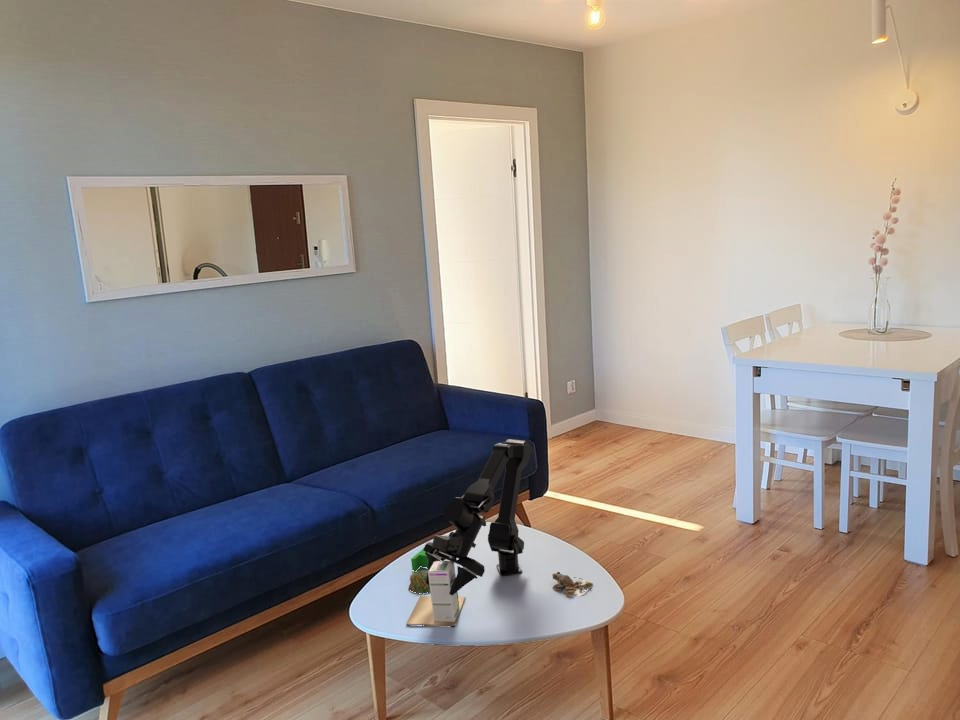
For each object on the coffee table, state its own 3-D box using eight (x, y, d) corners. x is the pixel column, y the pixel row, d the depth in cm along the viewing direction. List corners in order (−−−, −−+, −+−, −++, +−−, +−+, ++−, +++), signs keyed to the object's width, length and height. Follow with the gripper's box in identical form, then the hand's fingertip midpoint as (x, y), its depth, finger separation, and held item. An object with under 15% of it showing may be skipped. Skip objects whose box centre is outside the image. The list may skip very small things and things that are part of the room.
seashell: (422, 584, 207) (399, 574, 214) (423, 598, 208) (400, 587, 215) (448, 572, 214) (426, 563, 221) (449, 586, 214) (426, 576, 222)
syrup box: (454, 622, 192) (449, 571, 190) (433, 621, 194) (427, 570, 191) (459, 610, 198) (454, 560, 195) (438, 610, 199) (433, 560, 196)
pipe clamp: (423, 574, 221) (421, 560, 220) (412, 572, 223) (410, 558, 222) (442, 557, 231) (440, 543, 230) (431, 555, 233) (430, 542, 232)
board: (406, 625, 194) (406, 623, 194) (420, 597, 208) (420, 595, 207) (454, 627, 192) (454, 624, 191) (465, 598, 205) (465, 596, 205)
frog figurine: (540, 593, 205) (539, 581, 204) (562, 574, 214) (561, 562, 213) (577, 604, 198) (576, 591, 197) (598, 584, 207) (597, 571, 207)
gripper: (424, 513, 200) (397, 567, 195) (472, 531, 187) (444, 589, 181) (448, 530, 207) (422, 582, 202) (496, 548, 193) (470, 604, 188)
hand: (438, 589), depth 193 cm, fingers open, 9 cm apart
